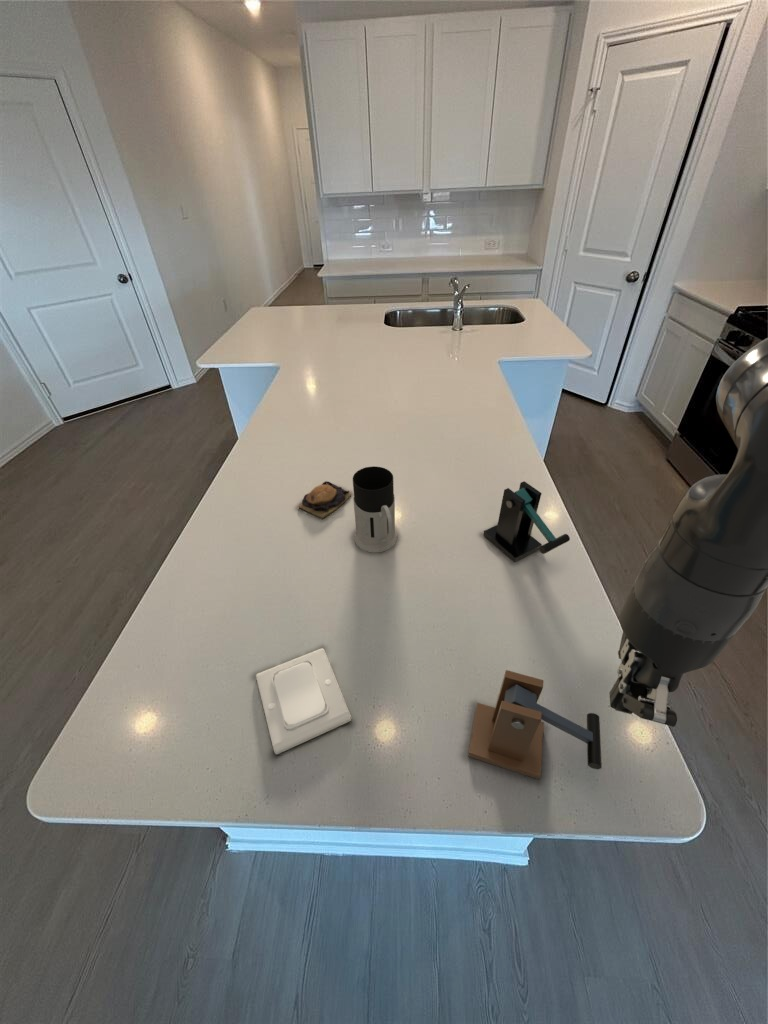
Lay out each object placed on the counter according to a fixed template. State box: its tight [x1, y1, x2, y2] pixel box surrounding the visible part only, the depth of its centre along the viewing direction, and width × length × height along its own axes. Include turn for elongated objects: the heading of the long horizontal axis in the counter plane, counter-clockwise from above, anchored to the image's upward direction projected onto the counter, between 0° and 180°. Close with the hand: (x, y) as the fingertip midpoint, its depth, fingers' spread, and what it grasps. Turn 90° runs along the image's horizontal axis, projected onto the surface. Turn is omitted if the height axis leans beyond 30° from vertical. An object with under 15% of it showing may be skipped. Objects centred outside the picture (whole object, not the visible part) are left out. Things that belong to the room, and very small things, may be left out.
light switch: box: [255, 647, 352, 755], centre depth 63 cm, size 11×4×13 cm
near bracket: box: [467, 669, 545, 780], centre depth 55 cm, size 9×7×13 cm
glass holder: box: [352, 466, 398, 554], centre depth 83 cm, size 9×14×15 cm, turn 18°
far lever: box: [514, 488, 571, 555], centre depth 79 cm, size 12×6×2 cm, turn 31°
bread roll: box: [298, 480, 352, 519], centre depth 98 cm, size 11×8×4 cm
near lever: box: [504, 684, 603, 770], centre depth 52 cm, size 12×6×2 cm, turn 72°
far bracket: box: [482, 481, 543, 563], centre depth 84 cm, size 9×7×13 cm
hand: (620, 703), depth 46 cm, fingers closed
